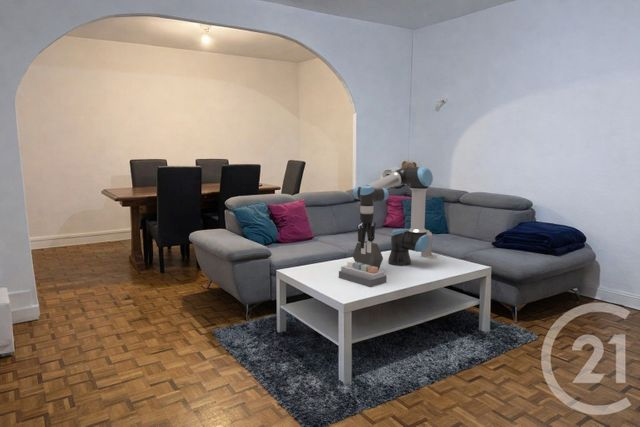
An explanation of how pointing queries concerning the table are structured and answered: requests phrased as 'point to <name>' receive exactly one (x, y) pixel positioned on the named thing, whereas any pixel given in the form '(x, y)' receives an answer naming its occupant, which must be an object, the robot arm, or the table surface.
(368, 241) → the robot arm
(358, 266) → the key slate
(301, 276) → the table surface
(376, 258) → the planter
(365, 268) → the key sage
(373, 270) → the key terracotta
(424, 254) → the candle
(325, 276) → the table surface
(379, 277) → the console
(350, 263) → the key ivory
